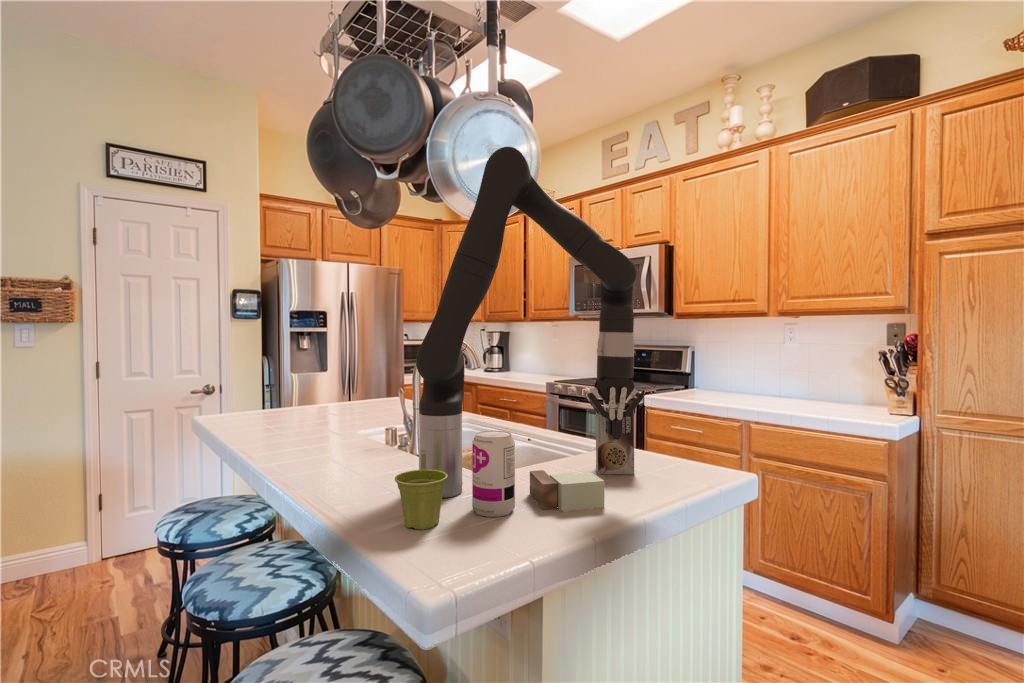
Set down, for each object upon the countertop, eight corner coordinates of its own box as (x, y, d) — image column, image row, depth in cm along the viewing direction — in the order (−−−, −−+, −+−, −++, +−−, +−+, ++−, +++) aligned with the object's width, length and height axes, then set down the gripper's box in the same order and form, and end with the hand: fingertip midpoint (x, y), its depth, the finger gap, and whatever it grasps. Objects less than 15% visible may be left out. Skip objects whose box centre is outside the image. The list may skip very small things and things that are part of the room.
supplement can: (483, 521, 94) (483, 439, 94) (465, 507, 101) (466, 432, 101) (522, 514, 98) (522, 435, 98) (502, 501, 105) (502, 428, 105)
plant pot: (400, 537, 86) (400, 486, 86) (390, 519, 95) (390, 472, 95) (454, 529, 90) (454, 480, 90) (439, 512, 99) (439, 467, 99)
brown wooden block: (542, 509, 100) (542, 484, 100) (529, 494, 110) (529, 470, 110) (557, 508, 101) (557, 483, 101) (543, 493, 111) (543, 470, 111)
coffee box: (631, 468, 131) (631, 405, 131) (634, 475, 125) (634, 409, 125) (595, 467, 132) (595, 405, 132) (596, 474, 126) (597, 408, 126)
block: (561, 512, 99) (561, 484, 99) (549, 501, 106) (549, 474, 106) (604, 508, 101) (604, 480, 101) (590, 497, 108) (590, 471, 108)
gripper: (592, 354, 102) (589, 441, 102) (653, 355, 105) (650, 440, 105) (579, 353, 109) (576, 434, 109) (636, 354, 112) (634, 433, 112)
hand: (613, 437), depth 107 cm, fingers closed
